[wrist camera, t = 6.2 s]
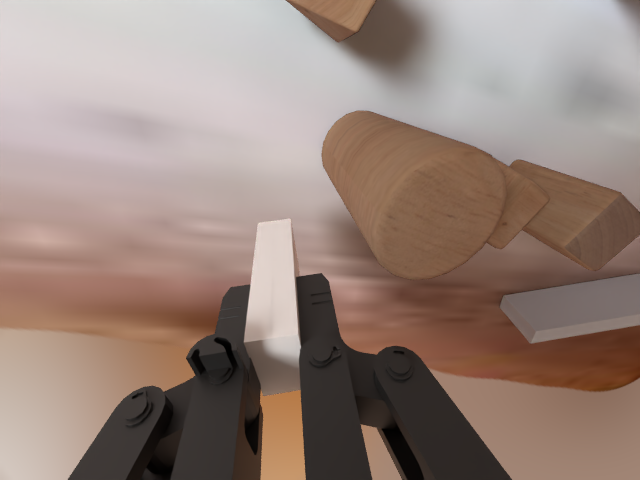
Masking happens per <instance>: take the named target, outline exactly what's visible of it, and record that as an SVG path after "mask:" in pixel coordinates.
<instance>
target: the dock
mask: <svg viewBox="0 0 640 480" xmlns="http://www.w3.org/2000/svg"><path fill="white" fill-rule="evenodd" d="M500 308H501V310H502V311H503V312H504V313H505V314H506V315H507V317H508V318H509V319H510V320H511V321H512V323H513V324H514V325H515V326H516V327H517V328H518V330H519V331H520V332H521V333H522V334H523V336H524V337H525V338H526V339H527V340H528V341H529V343H530V344H531V343H537V342H543V341H549V340H554V339H560V338H566V337H572V336H578V335H584V334H590V333H596V332H602V331H608V330H613V329H619V328H625V327H631V326H637V325H640V273H639V274H633V275H626V276H620V277H614V278H608V279H602V280H596V281H589V282H583V283H577V284H571V285H565V286H559V287H552V288H546V289H540V290H534V291H528V292H522V293H515V294H509V295H503V298H502V301H501V304H500Z"/></svg>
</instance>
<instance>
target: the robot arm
mask: <svg viewBox="0 0 640 480" xmlns="http://www.w3.org/2000/svg"><path fill="white" fill-rule="evenodd" d="M220 309H221V311H220V313H219V317H218V319H219V320H218V322H217V326H216V331H215V334H213V335H210V336H207V337H205V338H203V339H202V340H200V341H198V342H197V343H196V344H195V345H194V346H193V347H192V348H191V349H190V351H189V353H188V355H187V357H186V359H187V361H188V363H189V364H190V366H191V367H192V369H193V371H194V373H195V376H194V377H193V378H191V379H190V380H188V381H186V382H185V383H183V384H180V385H178V386H176V387H173V388H171V389H169V390H167V391H165V392H163V391H162V390H161V388H158V387H155V386H149V387H143V388H140V389H138V390H136V391H134V392H132V393H131V394H130V395H128V396H127V397H126V398H124V399H123V400H122V401H121V403H120V404H119V405H118V406H117V407H116V408H115V410H114V411H113V413H112V414H111V416H110V417H109V419H108V420H107V422H106V423H105V425H104V426H103V428H102V429H101V431H100V432H99V434H98V435H97V437H96V438H95V440H94V441H93V443H92V444H91V446H90V447H89V449H88V450H87V452H86V453H85V455H84V456H83V458H82V459H81V460H80V462H79V464H78V465H77V466H76V468H75V470H74V471H73V472H72V474H71V475H70V477H69V478H68V480H260V475H261V450H262V426H263V413H262V407H261V405H260V391H262V393H263V396H267V395H273V394H279V393H285V392H291V391H297V390H301V404H302V421H303V438H304V456H305V473H306V480H372V476H371V471H370V467H369V462H368V457H367V452H366V448H365V443H364V438H363V434H362V429H361V424H363V425H367V426H372V427H377V429H378V431H379V434H380V435H381V437H382V439H383V442H384V443H385V445H386V448H387V450H388V452H389V454H390V456H391V458H392V460H393V462H394V464H395V466H396V468H397V470H398V472H399V474H400V476H401V478H402V480H512V479H511V478H510V476H509V475H508V474H507V472H506V471H505V470H504V469H503V467H502V466H501V465H500V463H499V462H498V461H497V459H496V458H495V457H494V455H493V454H492V453H491V451H490V450H489V449H488V447H487V446H486V445H485V444H484V442H483V441H482V439H481V438H480V437H479V435H478V434H477V433H476V431H475V430H474V429H473V427H472V426H471V425H470V423H469V422H468V421H467V420H466V418H465V417H464V415H463V414H462V413H461V411H460V410H459V409H458V408H457V406H456V405H455V404H454V402H453V401H452V400H451V398H450V397H449V396H448V394H447V393H446V392H445V390H444V389H443V388H442V386H441V385H440V384H439V382H438V381H437V380H436V379H435V377H434V376H433V374H432V373H431V372H430V370H429V369H428V368H427V366H426V365H425V364H424V362H423V361H422V360H421V358H420V357H418V356H417V355H416V354H415V353H414V352H413V351H411V350H409V349H407V348H405V347H399V346H391V347H386V348H385V349H383V350H382V351H380V352H379V353H378V354H377V355H375V354H368V353H362V352H358V351H355V350H353V349H351V348H350V347H349V346H347V345H346V344H345V343H344V341H343V340H342V338H341V336H340V333H339V328H338V323H337V319H336V314H335V309H334V304H333V300H332V295H331V290H330V285H329V281H328V280H327V279H326V278H325V277H324V276H323V274H322V273H320V274H313V275H306V276H299V265H298V259H297V253H296V247H295V241H294V235H293V229H292V224H291V218H290V219H283V220H276V221H268V222H261V223H258V228H257V236H256V245H255V253H254V261H253V269H252V278H251V285H244V286H237V287H230V289H229V290H228V292H227V293H226V294H225V296H224V297H223V300H222V304H221V308H220Z"/></svg>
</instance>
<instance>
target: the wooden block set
mask: <svg viewBox="0 0 640 480" xmlns="http://www.w3.org/2000/svg"><path fill="white" fill-rule="evenodd" d="M286 1H287V2H289V3H290V4H291V5H292V6H293V7H295V8H296V9H297V10H298V11H300V12H301V13H302V14H303V15H304V16H306V17H307V18H308V19H309V20H311V21H312V22H313V23H314V24H316V25H317V26H318V27H319V28H320V29H322V30H323V31H324V32H325V33H327V34H328V35H329V36H330V37H331V38H333V39H334V40H335V41H336V42H341V41H342V40H344V39H346V38H348V37H350V36H352V35H353V34H355V33H357V32H358V31H359V30H360V28H361V26H362V25H363V23H364V21H365V19H366V18H367V16H368V14H369V12H370V11H371V9H372V7H373V5H374V4H375V2H376V0H286ZM322 161H323V167H324V168H325V170H326V172H327V174H328V176H329V178H330V179H331V181H332V183H333V185H334V186H335V188H336V190H337V192H338V193H339V195H340V197H341V198H342V200H343V202H344V204H345V205H346V207H347V209H348V211H349V212H350V214H351V216H352V218H353V219H354V221H355V223H356V224H357V226H358V228H359V230H360V231H361V233H362V235H363V237H364V238H365V240H366V242H367V243H368V245H369V247H370V249H371V250H372V252H373V254H374V256H375V257H376V259H377V261H378V262H379V264H380V265H381V266H383V267H384V268H385V269H386V270H388V271H389V272H390V273H391V274H393V275H396V276H399V277H403V278H406V279H410V280H418V279H430V278H433V277H436V276H440V275H443V274H446V273H448V272H450V271H452V270H453V269H455V268H457V267H459V266H460V265H462V264H464V263H465V262H466V261H468V260H469V259H470V258H471V257H472V256H473V255H474V254H476V253H477V252H478V251H479V250H480V249H481V248H482V247H483V246H484V244H485V243H486V242H487V243H489V244H490V245H492V246H493V247H495V248H499V249H502V248H504V247H505V246H506V245H507V244H508V243H509V242H510V241H511V240H512V239H513V238H514V237H515V236H516V235H517V234H518V233H519V232H520V231H521V230H523V231H525V232H527V233H528V234H530V235H532V236H533V237H535V238H537V239H538V240H540V241H542V242H543V243H545V244H547V245H548V246H550V247H551V248H553V249H555V250H556V251H558V252H560V253H561V254H563V255H565V256H566V257H568V258H570V259H571V260H573V261H575V262H576V263H578V264H580V265H581V266H583V267H585V268H586V269H588V270H593V271H596V270H599V269H600V268H601V267H603V266H604V265H605V264H606V263H607V262H608V261H610V260H611V259H612V258H613V257H614V256H615V255H617V254H618V253H619V252H620V251H621V250H622V249H623V248H625V247H626V246H627V245H628V244H629V243H630V242H632V241H633V240H634V239H635V238H636V237H637V236H638V235H640V212H639V211H638V210H637V209H636V208H635V207H634V206H633V205H632V204H631V203H630V202H629V201H628V200H627V199H626V198H625V196H624V195H623V194H622V193H621V192H618V191H615V190H612V189H609V188H606V187H603V186H600V185H597V184H593V183H590V182H587V181H584V180H581V179H578V178H575V177H572V176H569V175H566V174H563V173H560V172H557V171H554V170H551V169H548V168H545V167H541V166H538V165H535V164H532V163H529V162H526V161H523V160H516V161H514V162H513V163H512V164H511V165H510V166H507V165H505V164H503V163H502V162H500V161H498V160H497V159H495V158H493V157H492V155H490V154H488V153H486V152H484V151H482V150H480V149H478V148H476V147H474V146H471V145H468V144H465V143H462V142H459V141H456V140H453V139H450V138H447V137H444V136H441V135H438V134H435V133H432V132H429V131H426V130H423V129H420V128H417V127H414V126H412V125H409V124H406V123H403V122H400V121H397V120H394V119H391V118H388V117H385V116H382V115H379V114H376V113H373V112H370V111H355V112H352V113H349V114H346V115H345V116H343V117H342V118H341V119H339V120H338V121H336V123H335V124H334V125H333V126H332V128H331V129H330V130H329V131H328V133H327V136H326V138H325V140H324V142H323V148H322Z"/></svg>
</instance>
